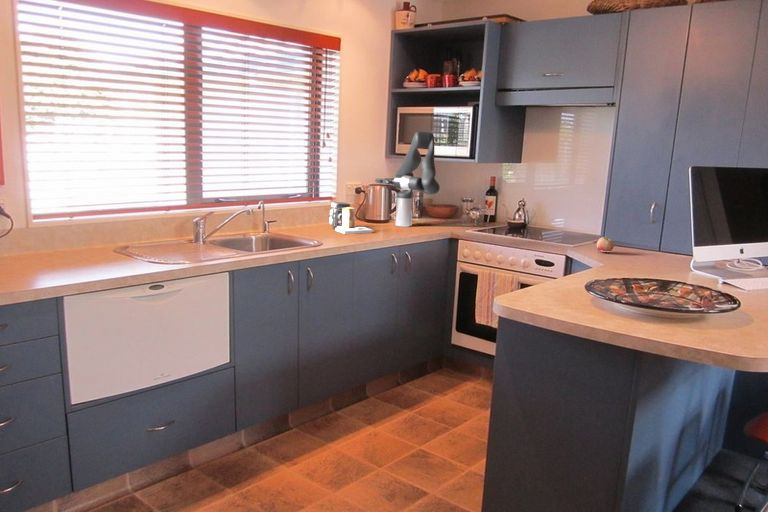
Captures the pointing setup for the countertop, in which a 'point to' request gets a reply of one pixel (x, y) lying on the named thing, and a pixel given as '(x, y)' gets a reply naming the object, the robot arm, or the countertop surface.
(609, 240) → the fruit
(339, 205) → the camera
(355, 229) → the baseplate
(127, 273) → the countertop surface
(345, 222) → the light wooden block
